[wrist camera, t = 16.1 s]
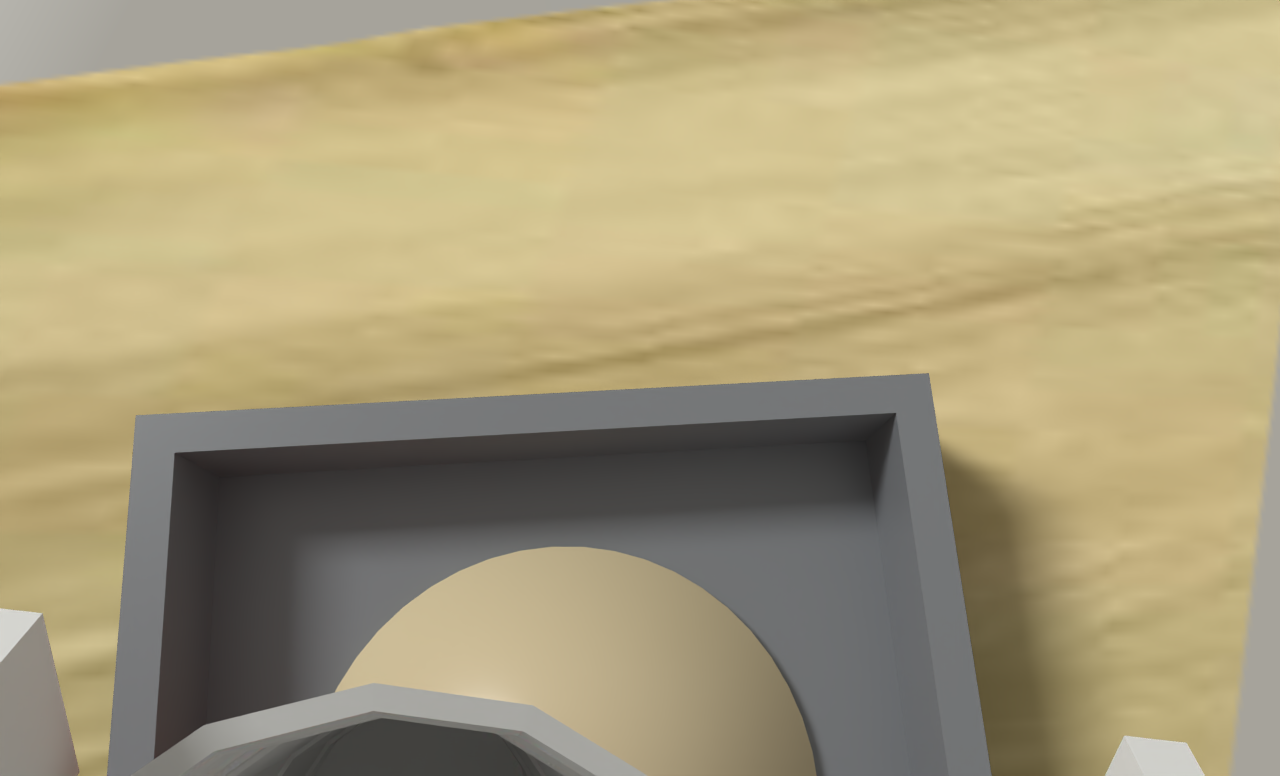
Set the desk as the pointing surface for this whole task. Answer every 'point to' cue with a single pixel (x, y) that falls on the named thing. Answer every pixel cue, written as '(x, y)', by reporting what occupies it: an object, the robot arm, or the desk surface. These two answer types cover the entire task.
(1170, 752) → the robot arm
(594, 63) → the desk surface
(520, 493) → the grey square tray
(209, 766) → the plastic cup
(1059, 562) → the desk surface
